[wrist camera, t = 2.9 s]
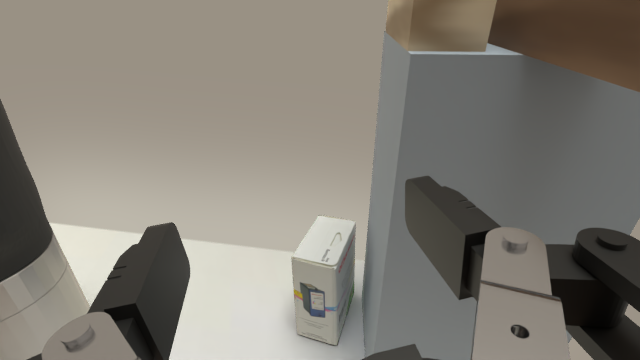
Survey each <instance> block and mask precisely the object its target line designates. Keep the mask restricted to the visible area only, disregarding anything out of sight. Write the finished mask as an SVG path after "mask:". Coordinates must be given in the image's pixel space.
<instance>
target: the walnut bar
mask: <svg viewBox="0 0 640 360" xmlns="http://www.w3.org/2000/svg"><path fill="white" fill-rule="evenodd" d="M487 43H489V44H492V45H495V46H498V47H501V48H504V49H507V50H510V51H513V52H516V53H520V54H523V55H526V56H529V57H532V58H535V59H538V60H541V61H544V62H547V63H550V64H554V65H557V66H560V67H563V68H566V69H569V70H572V71H575V72H578V73H581V74H584V75H588V76H591V77H594V78H597V79H600V80H603V81H606V82H609V83H612V84H615V85H618V86H622V87H625V88H628V89H631V90H634V91H637V92H640V0H497V2H496V6H495V11H494V15H493V20H492V24H491V28H490V33H489V37H488V42H487Z"/></svg>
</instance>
